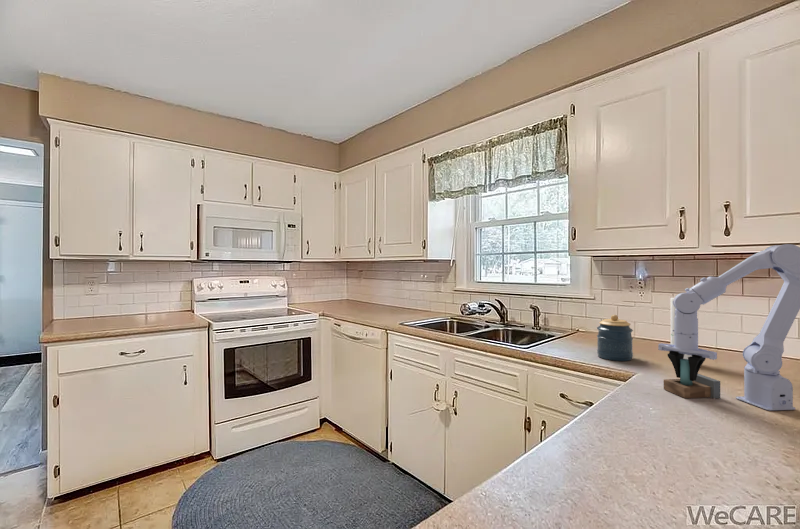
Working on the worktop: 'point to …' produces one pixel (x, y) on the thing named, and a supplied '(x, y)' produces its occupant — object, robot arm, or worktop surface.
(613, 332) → the canister
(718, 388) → the board
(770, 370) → the robot arm
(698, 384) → the brown square frame
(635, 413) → the worktop surface
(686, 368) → the dowel
